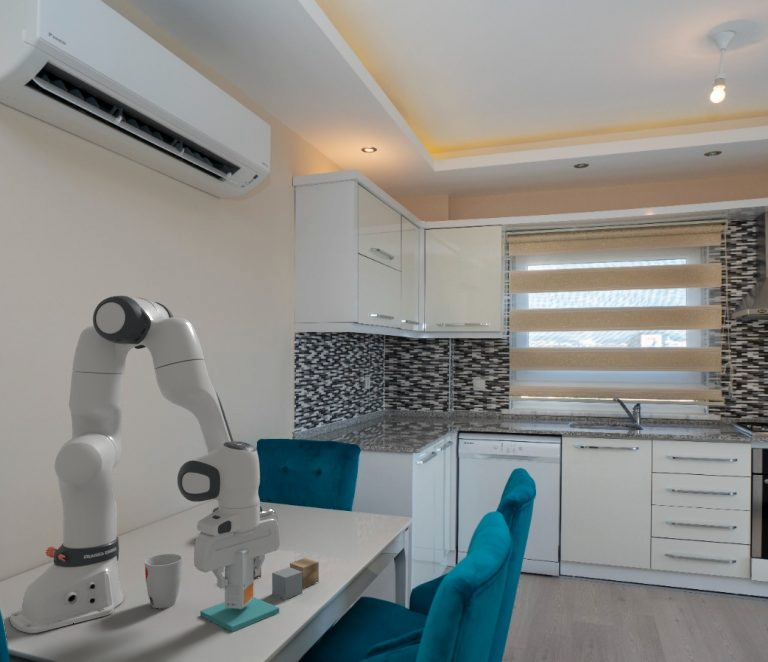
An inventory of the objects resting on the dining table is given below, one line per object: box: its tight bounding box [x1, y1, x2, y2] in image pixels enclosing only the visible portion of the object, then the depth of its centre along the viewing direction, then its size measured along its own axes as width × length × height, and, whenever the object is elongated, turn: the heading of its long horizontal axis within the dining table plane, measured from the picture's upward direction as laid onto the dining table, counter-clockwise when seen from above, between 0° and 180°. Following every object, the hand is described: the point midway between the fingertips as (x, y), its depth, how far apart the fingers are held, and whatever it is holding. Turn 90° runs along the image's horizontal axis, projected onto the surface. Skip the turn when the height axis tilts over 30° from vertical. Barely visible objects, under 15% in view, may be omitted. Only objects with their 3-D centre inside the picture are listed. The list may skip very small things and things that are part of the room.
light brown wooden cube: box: [289, 557, 320, 589], centre depth 148 cm, size 5×5×5 cm
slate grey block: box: [271, 566, 303, 600], centre depth 141 cm, size 5×5×5 cm
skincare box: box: [224, 549, 255, 609], centre depth 130 cm, size 6×4×12 cm
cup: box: [144, 553, 184, 610], centre depth 136 cm, size 8×8×10 cm
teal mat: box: [199, 596, 280, 633], centre depth 130 cm, size 12×12×1 cm
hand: (239, 581), depth 130 cm, fingers closed on skincare box, 7 cm apart
